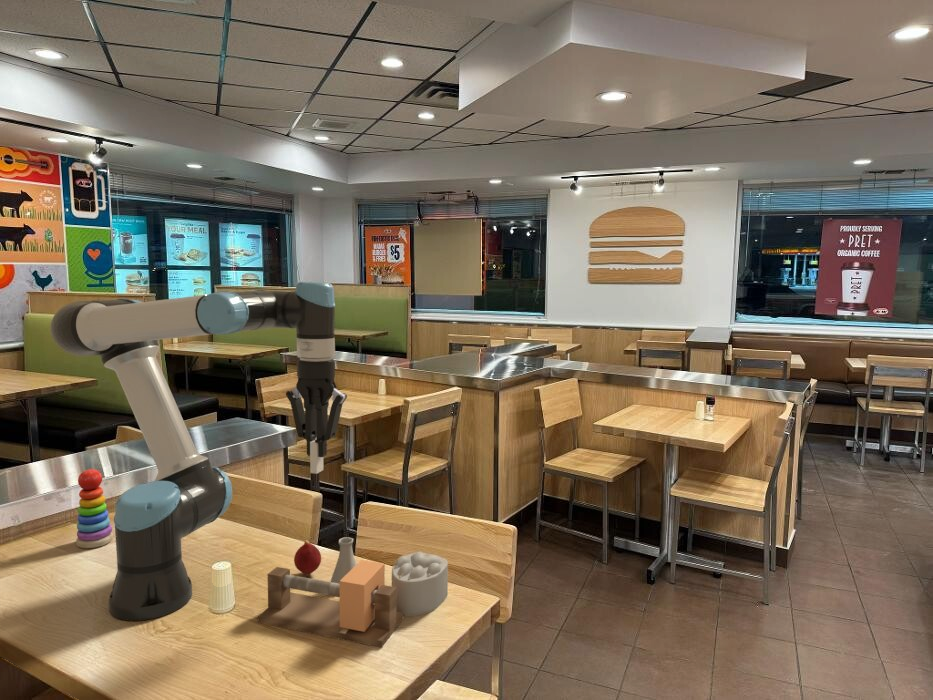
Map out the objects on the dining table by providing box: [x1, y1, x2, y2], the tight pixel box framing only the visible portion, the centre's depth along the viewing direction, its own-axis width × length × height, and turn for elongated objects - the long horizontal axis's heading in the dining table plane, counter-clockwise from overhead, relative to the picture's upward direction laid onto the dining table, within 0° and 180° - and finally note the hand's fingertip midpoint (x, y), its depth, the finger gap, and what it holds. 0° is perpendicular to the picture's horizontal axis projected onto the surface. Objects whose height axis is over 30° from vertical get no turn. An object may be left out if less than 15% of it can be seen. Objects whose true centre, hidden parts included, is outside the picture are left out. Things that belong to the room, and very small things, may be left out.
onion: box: [293, 539, 322, 576], centre depth 139 cm, size 6×6×8 cm
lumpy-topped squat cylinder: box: [391, 551, 449, 617], centre depth 129 cm, size 10×13×9 cm
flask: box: [329, 536, 358, 584], centre depth 135 cm, size 7×7×10 cm
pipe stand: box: [257, 566, 404, 648], centre depth 120 cm, size 26×10×8 cm, turn 74°
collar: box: [339, 559, 386, 632], centre depth 118 cm, size 5×9×9 cm, turn 164°
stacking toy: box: [75, 468, 114, 549], centre depth 152 cm, size 8×8×19 cm
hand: (316, 471), depth 128 cm, fingers closed
